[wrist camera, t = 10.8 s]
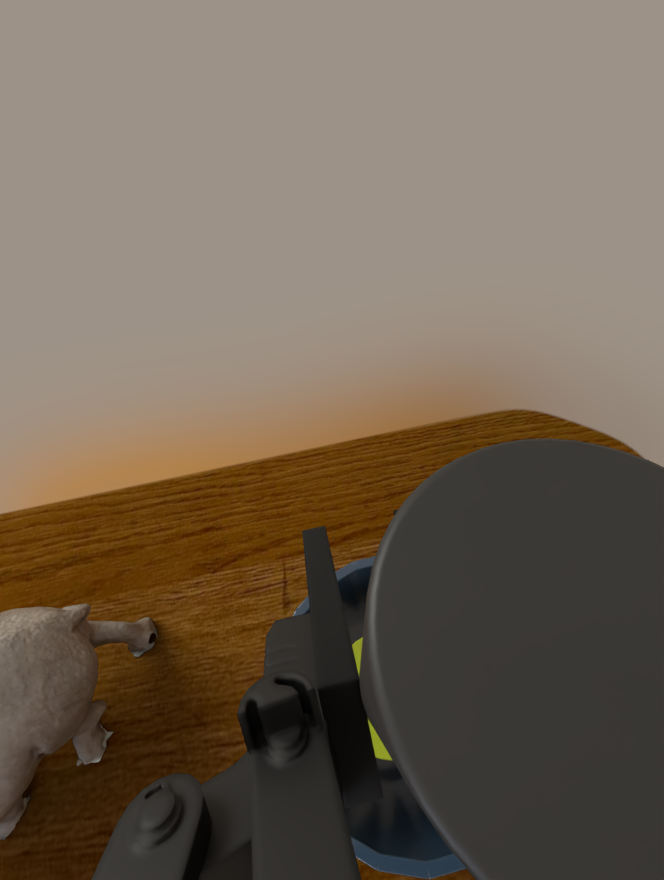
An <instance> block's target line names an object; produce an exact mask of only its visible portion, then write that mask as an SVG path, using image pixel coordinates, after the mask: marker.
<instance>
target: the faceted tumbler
mask: <svg viewBox="0 0 664 880" xmlns="http://www.w3.org/2000/svg"><path fill="white" fill-rule="evenodd" d="M375 557H376V556H374V557H370V558H366V559H361V560H357V561H353V562H351V563H349V564H348V565H346V566H344V567H343V568H341V569H339V570H338V571H336V572H335V573H336V577H337V581H338V586H339V590H340V595H341V599H342V603H343V608H344V612H345V617H346V621H347V626H348V630H349V634H350V639H351V643H352V644H354V643H355V642H356V641H357V640H359V639H360V638H362V637H363V630H364V619H365V609H366V598H367V591H368V585H369V580H370V575H371V570H372V566H373V563H374V560H375ZM306 613H310V607H309V597H308V596H307V597H306V598H305V600H304V601H303V602H302V603H301V604H300V605H299V606H298V608H297V609H296V611H295V612H294V614H293V616H297V615H301V614H306ZM293 616H292V617H293ZM376 762H377V767H378V772H379V777H380V782H381V787H382V792H383V796H384V798H382V799H379V800H375V801H371V802H368V803H364V804H360V805H357V806H353V807H349V808H345V807H344V809H345V815H346V819H347V823H348V827H349V831H350V835H351V839H352V844H353V848H354V852H355V856H356V858H357V859H359V860H361V861H362V862H364V863H365V864H367V865H368V866H370V867H372V868H373V869H375V870H378V871H380V872H386V873H392V874H398V875H404V876H410V877H416V878H422V879H433V878H436V877H440V876H443V875H447V874H450V873H454V872H457V871H461V870H464V869H466V867H465V866H464V865H463V864H462V863H461V862H460V860H459V859H458V858H457V857H456V856H455V855H454V853H453V852H452V851H451V850H450V849H449V848H448V846H447V845H446V844H445V842H444V841H443V839H442V838H441V837H440V835H439V834H438V832H437V831H436V829H435V828H434V826H433V825H432V823H431V822H430V820H429V819H428V817H427V816H426V815H425V813H424V812H423V810H422V809H421V807H420V806H419V804H418V802H417V801H416V799H415V797H414V796H413V794H412V792H411V790H410V789H409V787H408V785H407V784H406V782H405V780H404V779H403V777H402V775H401V774H400V772H399V770H398V768H397V767H396V765H395V763H394V762H393V761H389V760H382V759H379V758H376Z"/></svg>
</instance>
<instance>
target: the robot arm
mask: <svg viewBox="0 0 664 880" xmlns="http://www.w3.org/2000/svg"><path fill="white" fill-rule="evenodd" d="M397 511H398V510H394V516H395V514H396V513H397ZM302 532H303V542H304V553H305V564H306V575H307V586H308V597H309V607H310V613H306V614H301V615H297V616H293V617H289V618H284V619H280V620H276V621H275V622H274V624H273V625H272V627H271V629H270V630H269V632H268V634H267V636H266V647H265V654H266V655H265V661H264V667H265V669H264V675H263V678H261V679H259V680H258V681H257V682H256V683H255V684H253V685H252V686H251V687H250V688H249V689H248V690H247V692H246V693H245V695H244V696H243V698H242V699H241V701H240V704H239V709H238V714H237V716H238V719H239V723H240V726H241V729H242V733H243V736H244V740H245V743H246V747H247V750H248V751H247V752H246V753H245V754H244V755H243V756H242V757H241V758H240V759H239V760H238V761H237V762H236V763H235V764H233V765H232V766H231V767H229V768H228V769H226V770H225V771H223V772H222V773H220V774H218V775H216V776H215V777H213V778H211V779H210V780H208V781H206V782H205V783H203V784H201V785H200V783H199V781H198V780H196V779H195V778H194V777H192V776H191V775H190V774H181V773H175V774H171V775H168V776H165V777H162V778H160V779H158V780H156V781H155V782H153V783H152V784H150V785H149V786H147V787H146V788H144V789H143V790H142V791H141V792H140V793H139V794H138V795H137V796H136V797H135V798H134V800H133V801H132V802H131V803H130V804H129V805H128V806H127V808H126V810H125V811H124V813H123V815H122V816H121V818H120V820H119V821H118V823H117V825H116V827H115V829H114V831H113V834H112V836H111V838H110V840H109V842H108V844H107V847H106V849H105V851H104V853H103V855H102V858H101V860H100V862H99V864H98V866H97V868H96V871H95V873H94V875H93V877H92V879H91V880H361V877H360V872H359V868H358V864H357V860H356V856H355V852H354V848H353V844H352V839H351V835H350V831H349V827H348V823H347V819H346V815H345V809H344V807H345V808H349V807H353V806H357V805H360V804H364V803H368V802H371V801H375V800H379V799H382V798H384V796H383V792H382V787H381V782H380V777H379V772H378V767H377V762H376V757H375V752H374V747H373V742H372V737H371V733H370V728H369V723H368V718H367V714H366V711H365V709H364V705H363V702H362V698H361V691H360V678H359V674H358V670H357V665H356V661H355V656H354V652H353V648H352V643H351V639H350V634H349V630H348V626H347V621H346V617H345V612H344V608H343V603H342V599H341V595H340V590H339V586H338V581H337V577H336V573H335V568H334V564H333V559H332V555H331V551H330V546H329V542H328V537H327V533H326V529H325V526H322V527H318V528H313V529H309V530H304V531H302Z"/></svg>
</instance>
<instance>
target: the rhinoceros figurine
mask: <svg viewBox="0 0 664 880" xmlns="http://www.w3.org/2000/svg"><path fill="white" fill-rule="evenodd" d="M90 609H91V606H90V605H89V604H85V603H83V604H80V605H73V606H69V607H64V608H62V609H60V608H52V607H33V608H19V609H12V610H8V611H4V612H2V613H0V840H1V839H3V840H5V838H6V837H7V836H8V835H9V834H10V833H11V832H12V831H13V829H15V825H16V823H17V822H18V821H20V817H21V816H22V815H23V812H24V811H25V809H26V806H27V802H28V801H30V795H29V796H28V798H26V797H25V799H23V796H22V794H23V793H24V791H25V790H26V789H27V787H28V786H29V784H30V783H31V781H32V779H33V777H34V774H35V771H36V769H37V767H38V765H39V763H40V761H41V760H42V759H43V757H44V756H45V755H47V754H53V753H55V752H56V751H57V750H58V749H60V748H61V747H62V746H63V745H65V744H66V743H67V742H68V741H69V740H70V739H71V738H73V745H74V747H75V749H76V751H77V754H78V756H79V757H78V761H77V766H78V765H79V764H81V763H83V764H85V765H86V764H89V763H92V762H93V763H96V762H99V761H100V760H101V757H102V755H103V753H104V751H105V748H106V740H107V739H108V738H109V737H110V736H111V734H112V733H113V732H107V731H106V729H104V728H103V726H102V725H101V724H100V722H99V719H100V717H101V716H102V714H103V713H104V711H105V710H106V707H107V706H106V703H105V702H104V701H103V700H97V701H93V702H91V700H92V697H93V693H94V690H95V687H96V683H97V677H98V659H97V653H96V652H95V651H94V648H96V647H99V646H101V645H104V644H107V643H122V642H123V643H127V644H128V649H129V650H130V651H131V653H133V654H134V656H135V657H139V656H140V655H141V654H143V652H144V651H147V650H149V649H152V647H153V646H154V643H155V641H154V642H153V643H151V644H149V642H148V641H149V638H150V635H151V634H152V633H155V634H156V636H157V630H156V629H155V626H154V624H153V622H152V621H151V619H150V618H149V617H146V618H142V619H141V620H138V621H136V622H134V623H130V622H121V621H87V620H86V618H87V616H88V614H89V612H90ZM157 638H158V636H157Z"/></svg>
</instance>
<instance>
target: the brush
mask: <svg viewBox="0 0 664 880" xmlns="http://www.w3.org/2000/svg"><path fill="white" fill-rule="evenodd" d="M352 648H353V652H354V656H355V661H356V665H357V670H358V674H359V678H360V691H361V698H362V702H363V705H364V709H365V711H366V714H367V718H368V723H369V728H370V733H371V737H372V742H373V747H374V752H375V757H376V758H379V759H382V760H389V761H393V762H394V763H395V765H396V767H397V768H398V770H399V772H400V774H401V775H402V777H403V779H404V780H405V782H406V784H407V785H408V787H409V789H410V790H411V792H412V794H413V796H414V797H415V799H416V801H417V802H418V804H419V806H420V807H421V809H422V810H423V812H424V813H425V815H426V816H427V817H428V819H429V820H430V822H431V823H432V825H433V826H434V828H435V829H436V831H437V832H438V834H439V835H440V837H441V838H442V839H443V841H444V842H445V844H446V845H447V846H448V848H449V849H450V850H451V851H452V852H453V853H454V855H455V856H456V857H457V858H458V859H459V860H460V862H461V863H462V864H463V865H464V866H465V867H466V869H467V870H468V871H469V872H470V873H471V874H472V876H473V877H474V878H475V879H476V880H664V467H661V466H660V465H657V464H655V463H653V462H651V461H649V460H646V459H643V458H640V457H638V456H635V455H632V454H629V453H627V452H624V451H620V450H616V449H613V448H609V447H605V446H602V445H598V444H592V443H586V442H580V441H574V440H562V439H524V440H518V441H511V442H505V443H500V444H496V445H493V446H489V447H485V448H482V449H479V450H476V451H474V452H472V453H469V454H467V455H465V456H462V457H460V458H457V459H456V460H454V461H452V462H451V463H449V464H447V465H445V466H444V467H442V468H440V469H439V470H437V471H436V472H435V473H434V474H432V475H431V476H430V477H429V478H427V479H426V480H425V481H424V482H422V483H421V484H420V485H419V486H418V487H417V488H416V489H415V490H414V491H413V493H412V494H411V495H410V496H409V497H408V498H407V499H406V500H405V501H404V503H403V504H402V506H401V507H400V509H399V510H398V511H397V513H396V514H395V516H394V517H393V519H392V520H391V522H390V524H389V526H388V528H387V530H386V532H385V534H384V536H383V538H382V540H381V542H380V545H379V548H378V551H377V554H376V557H375V560H374V563H373V566H372V570H371V575H370V580H369V585H368V591H367V598H366V609H365V619H364V630H363V637H362V638H360V639H359V640H357V641H356V642H355V643H354V644H352Z"/></svg>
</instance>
